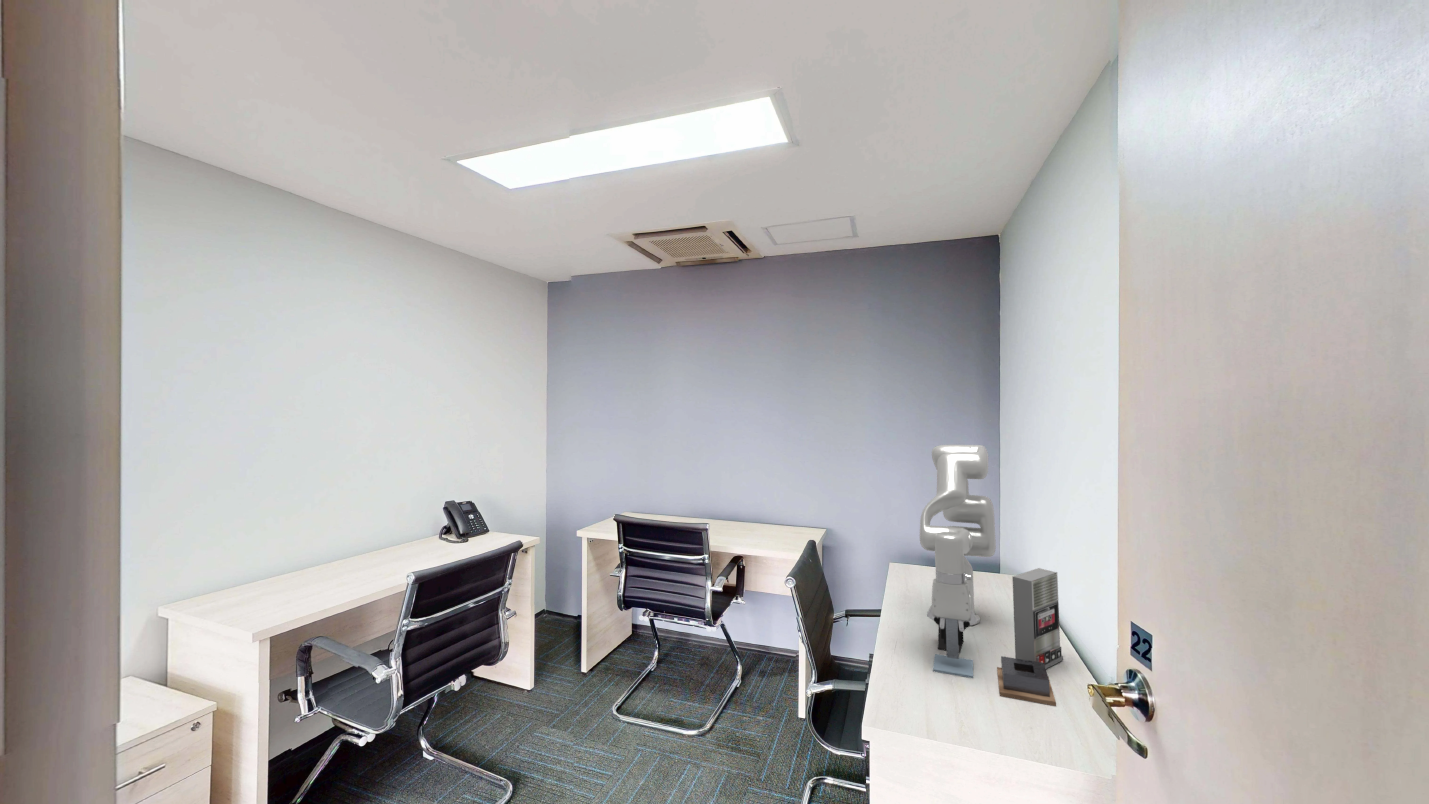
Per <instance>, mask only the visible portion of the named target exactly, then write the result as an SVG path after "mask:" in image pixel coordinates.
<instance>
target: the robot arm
mask: <svg viewBox="0 0 1429 804" xmlns="http://www.w3.org/2000/svg"><path fill="white" fill-rule="evenodd" d="M988 453H989V452H988V449H987V447H986V446H984V445H980V444H940V445H937V446H935V447H933V448H932V450H931V458H932V461H933V465H934V466H935V469H936V494H935V496H934V497H932V498H931V499H930V501H928V502H927V504H926V505H925V506H924V508H923V509H922V511H921V515H920V518H919V519H920V520H919V542H920V543H919V544H920V546H921V547H922V548H923V550H925V551H929V552H934V564H935V578H933V580H932V585H931V586H932V588H931V606H930V607H929V609H928V611H927V612H926V617H928V619H931V620H932V621H934V622H935V623H936V624H937V626H938V627H939V626H940V628H941V639H944V644H946V624H945V618H948V619H955V620H958V623H959V626H958V645H959V646H961V642H963V640H964V632H965V630H966V629H968V628H969V627H970V626H975V625H978V624H979V623H980V621H981V620H980V619H981V617H980V616H979V615H978V614H976V613H975V591H974V590H975V589H974V569H973V566H972V564H971V563H970V562H969V560H968V558H966V557H977V558H978V557H979V558H992V557H993V556H994V555H995V553H996V548H997V547H996V546H997V545H996V543H997V542H996V526H995V524H996V523H995V510H994V504H993V502H992V500H991V499H990V498H989V497H988V496H986V495H977V494H976V495H975V494H970V493H969V490H970V489H969V480H984V479H986V477H987V475H988V474H989V473H988V472H989V454H988ZM941 512H942V515H943V517H944V519H945V520H946V521H949V522H952V523H960V524H961V523H962V524H976V525H978V526H979V527H972V526H970V527H969V526H961V525H960V526H957V525H947V526H943V525H942V526H941V525H931V521H932V519H933V517H934V516H936V515H938V514H940V513H941ZM939 617H940V618H939ZM963 643H964V642H963Z"/></svg>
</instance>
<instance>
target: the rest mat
mask: <svg viewBox="0 0 1429 804" xmlns="http://www.w3.org/2000/svg"><path fill="white" fill-rule="evenodd" d="M933 659H934V661H933V666H932V667H933V668H932V672H934V671H935V672H934V673H941V674H947V675H952V676H956V677H957V676H958V677H964V678H969V679H974V660H973V659H971V658H965V657H963V658H962V657H959V659H954V658H948V657H947V654H946V655H944V654H941V653H940V654H938V653H934V658H933Z"/></svg>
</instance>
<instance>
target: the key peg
mask: <svg viewBox="0 0 1429 804" xmlns="http://www.w3.org/2000/svg"><path fill="white" fill-rule="evenodd" d="M946 645H947V651H946V656H947V657H948V658H954V659H959V658H960V653H959V645H958V620H955V619H948V618H946Z"/></svg>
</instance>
